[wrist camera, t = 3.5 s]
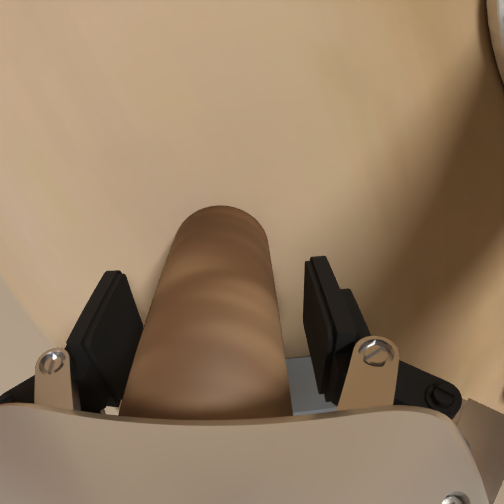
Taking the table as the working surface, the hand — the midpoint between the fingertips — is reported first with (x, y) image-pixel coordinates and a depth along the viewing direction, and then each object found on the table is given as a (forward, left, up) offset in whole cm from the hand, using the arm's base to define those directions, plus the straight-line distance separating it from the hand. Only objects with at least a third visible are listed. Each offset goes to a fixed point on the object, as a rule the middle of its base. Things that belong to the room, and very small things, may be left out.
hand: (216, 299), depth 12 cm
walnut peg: (0, 0, -4) cm, 4 cm away
